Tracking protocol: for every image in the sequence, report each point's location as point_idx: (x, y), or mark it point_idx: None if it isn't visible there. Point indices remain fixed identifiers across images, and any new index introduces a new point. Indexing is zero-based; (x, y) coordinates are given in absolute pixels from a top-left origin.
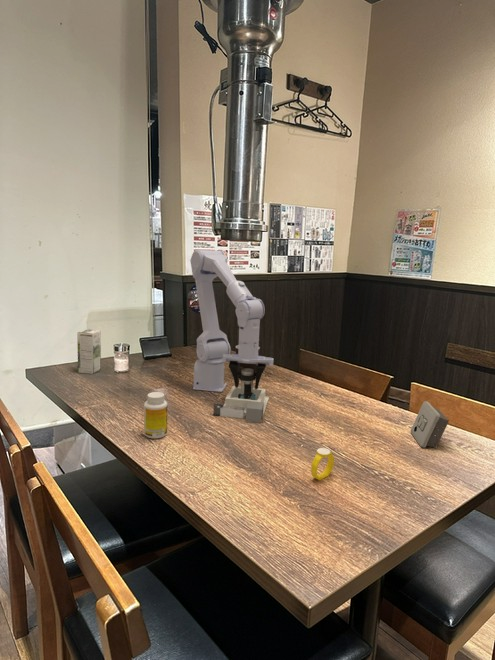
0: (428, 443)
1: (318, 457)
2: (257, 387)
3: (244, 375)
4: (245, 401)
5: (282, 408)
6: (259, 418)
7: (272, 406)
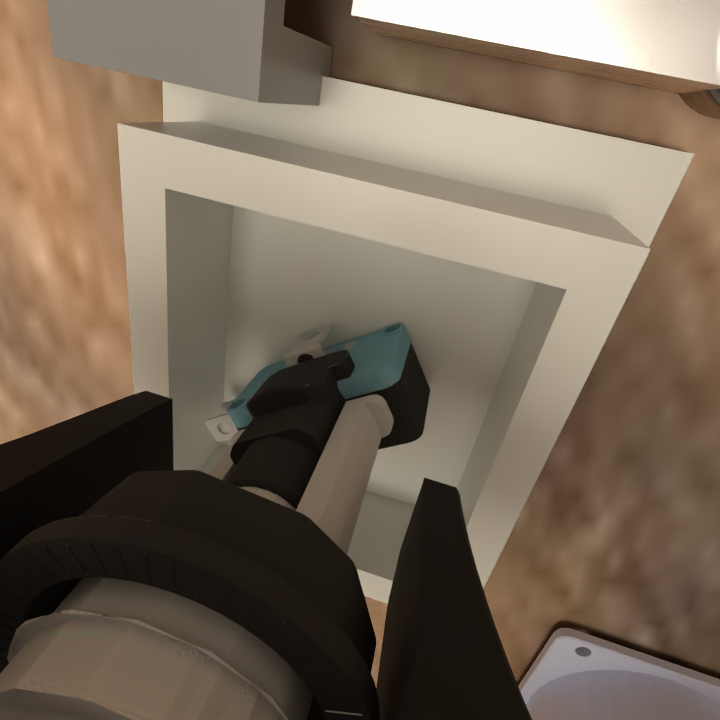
0: None
1: None
2: (117, 401)
3: (218, 624)
4: (330, 168)
5: (47, 278)
6: None
7: (128, 322)
